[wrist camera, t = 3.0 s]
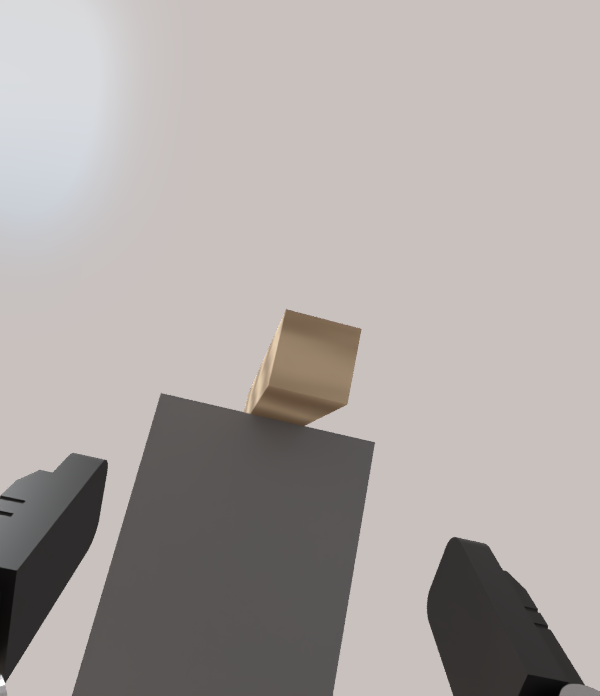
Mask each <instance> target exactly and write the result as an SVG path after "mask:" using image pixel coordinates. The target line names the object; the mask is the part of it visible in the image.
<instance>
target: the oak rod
mask: <svg viewBox="0 0 600 696" xmlns="http://www.w3.org/2000/svg"><path fill="white" fill-rule="evenodd" d="M360 334H361V329H360V328H356V327H352V326H348V325H344V324H340V323H336V322H332V321H329V320H325V319H321V318H317V317H314V316H310V315H306V314H302V313H298V312H294V311H291V310H286V311H285V313H284V315H283V318H282V320H281V322H280V324H279V327H278V329H277V331H276V333H275V336H274V338H273V340H272V342H271V344H270V347H269V349H268V351H267V354H266V356H265V358H264V360H263V363H262V365H261V367H260V369H259V372H258V374H257V376H256V378H255V380H254V383H253V385H252V388H251V390H250V392H249V394H248V397H247V402H246V406H245V410H244V412H245V413H249V414H253V415H258V416H262V417H266V418H271V419H275V420H279V421H284V422H288V423H293V424H297V425H301V426H305V425H307V424H309V423H311V422H313V421H315V420H317V419H319V418H321V417H323V416H325V415H327V414H329V413H331V412H333V411H335V410H337V409H339V408H341V407H343V406H345V405H347V403H348V397H349V392H350V387H351V382H352V377H353V371H354V365H355V360H356V355H357V349H358V344H359V338H360Z"/></svg>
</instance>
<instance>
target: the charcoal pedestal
mask: <svg viewBox="0 0 600 696" xmlns="http://www.w3.org/2000/svg"><path fill="white" fill-rule="evenodd" d="M374 444H375V442H371V441H366V440H362V439H358V438H353V437H349V436H345V435H340V434H335V433H332V432H327V431H323V430H318V429H314V428H309V427H305V426H301V425H297V424H293V423H288V422H284V421H279V420H275V419H271V418H266V417H262V416H258V415H253V414H249V413H245V412H240V411H236V410H232V409H227V408H223V407H219V406H214V405H210V404H206V403H201V402H197V401H193V400H188V399H183V398H179V397H175V396H171V395H166V394H161V395H160V398H159V402H158V405H157V409H156V412H155V415H154V419H153V422H152V426H151V429H150V432H149V436H148V439H147V443H146V446H145V450H144V453H143V457H142V460H141V463H140V466H139V470H138V473H137V477H136V480H135V483H134V487H133V490H132V494H131V497H130V500H129V504H128V507H127V510H126V514H125V517H124V521H123V524H122V528H121V531H120V534H119V538H118V541H117V544H116V548H115V551H114V555H113V558H112V561H111V565H110V568H109V572H108V575H107V578H106V582H105V585H104V589H103V592H102V595H101V599H100V602H99V606H98V609H97V613H96V616H95V619H94V623H93V626H92V629H91V633H90V636H89V640H88V643H87V646H86V650H85V654H84V657H83V660H82V663H81V667H80V670H79V674H78V677H77V680H76V684H75V687H74V691H73V694H72V696H333V690H334V684H335V678H336V672H337V666H338V660H339V654H340V648H341V642H342V636H343V630H344V624H345V618H346V612H347V606H348V600H349V594H350V588H351V582H352V576H353V570H354V564H355V558H356V552H357V546H358V540H359V534H360V528H361V522H362V516H363V510H364V504H365V498H366V492H367V486H368V480H369V474H370V468H371V462H372V456H373V450H374Z"/></svg>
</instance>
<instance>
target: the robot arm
mask: <svg viewBox="0 0 600 696" xmlns="http://www.w3.org/2000/svg"><path fill="white" fill-rule="evenodd" d="M107 469H108V463H107V460H103V459H98V458H94V457H89V456H85V455H80V454H76V453H72V454H70V455H69V456H68V457H67V458H66V459H65V460H64V461H63V462H62V463H61V465H60V466H59V467H58V468H57V469H56V470H55V471H54V472H53V473H51V472H47V471H42V470H38V471H37V472H34V473H32V474H30V475H28V476H25V477H23V478H21V479H19V480H17V481H15V482H14V484H12V485H11V486H10V487H9V488H8V489H7V490H6V491H5V492H4V493H3V494H2V495H1V496H0V696H7V692H6V688H5V683H6V681H7V679H8V678H9V676H10V675H11V673H12V671H13V670H14V668H15V666H16V665H17V663H18V662H19V660H20V659H21V657H22V655H23V654H24V652H25V650H26V649H27V647H28V646H29V644H30V642H31V641H32V639H33V637H34V636H35V634H36V633H37V631H38V630H39V628H40V626H41V625H42V623H43V621H44V620H45V618H46V617H47V615H48V614H49V612H50V610H51V609H52V607H53V605H54V604H55V602H56V601H57V599H58V597H59V596H60V594H61V593H62V591H63V589H64V588H65V586H66V585H67V583H68V581H69V580H70V578H71V577H72V575H73V573H74V572H75V570H76V569H77V567H78V565H79V564H80V562H81V561H82V559H83V557H84V556H85V554H86V553H87V551H88V549H89V547H90V545H91V543H92V541H93V538H94V535H95V533H96V529H97V526H98V522H99V516H100V511H101V504H102V499H103V493H104V487H105V481H106V476H107ZM427 614H428V620H429V623H430V627H431V630H432V632H433V635H434V639H435V641H436V645H437V647H438V650H439V653H440V657H441V660H442V663H443V666H444V669H445V672H446V675H447V678H448V681H449V683H450V687H451V690H452V692H453V696H600V691H597V690H595V689H593V688H591V687H588V686H585V685H584V683H583V681H582V680H581V678H580V677H579V675H578V673H577V672H576V670H575V669H574V667H573V665H572V664H571V662H570V660H569V659H568V657H567V655H566V654H565V652H564V651H563V649H562V648H561V646H560V644H559V643H558V641H557V640H556V638H555V636H554V635H553V633H552V631H551V630H549V629H548V625H547V623H546V622H545V620H544V618H543V617H542V615H541V614H540V613H538V609H537V607H536V606H535V604H534V602H533V601H532V599H531V598H530V596H529V594H528V593H527V591H526V590H525V589H524V588H523V587H522V586H521V585H520V584H519V583H518V582H517V581H516V580H515V579H514V578H513V577H512V576H511V575H510V574H509V573H508V572H507V571H503V570H502V568H501V567H500V565H499V563H498V561H497V560H496V558H495V556H494V555H493V553H492V551H491V550H490V548H489V546H487V545H486V544H484V543H480V542H475V541H470V540H466V539H461V538H457V537H453V538H451V539H450V541H449V542H448V544H447V546H446V548H445V551H444V554H443V557H442V559H441V562H440V564H439V567H438V570H437V572H436V575H435V577H434V580H433V583H432V585H431V588H430V591H429V595H428V602H427Z"/></svg>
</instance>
